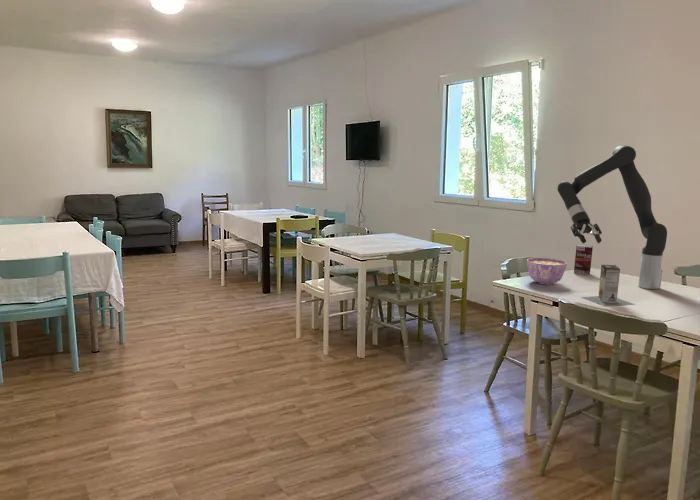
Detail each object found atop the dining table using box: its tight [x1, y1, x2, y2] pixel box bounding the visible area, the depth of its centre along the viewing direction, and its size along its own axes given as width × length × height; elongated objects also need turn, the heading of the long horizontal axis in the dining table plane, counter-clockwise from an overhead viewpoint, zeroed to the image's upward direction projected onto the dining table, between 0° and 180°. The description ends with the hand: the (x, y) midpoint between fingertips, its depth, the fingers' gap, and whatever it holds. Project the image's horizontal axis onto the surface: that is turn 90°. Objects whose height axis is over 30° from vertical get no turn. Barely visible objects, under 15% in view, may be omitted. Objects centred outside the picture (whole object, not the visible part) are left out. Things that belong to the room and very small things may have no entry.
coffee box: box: [597, 264, 621, 303], centre depth 256 cm, size 9×6×16 cm
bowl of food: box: [526, 257, 568, 285], centre depth 290 cm, size 20×20×12 cm
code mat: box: [581, 295, 634, 307], centre depth 257 cm, size 16×16×1 cm
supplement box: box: [573, 244, 594, 276], centre depth 314 cm, size 9×5×16 cm, turn 68°
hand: (592, 242), depth 266 cm, fingers open, 8 cm apart
